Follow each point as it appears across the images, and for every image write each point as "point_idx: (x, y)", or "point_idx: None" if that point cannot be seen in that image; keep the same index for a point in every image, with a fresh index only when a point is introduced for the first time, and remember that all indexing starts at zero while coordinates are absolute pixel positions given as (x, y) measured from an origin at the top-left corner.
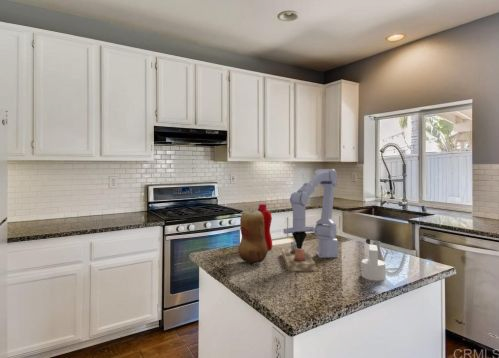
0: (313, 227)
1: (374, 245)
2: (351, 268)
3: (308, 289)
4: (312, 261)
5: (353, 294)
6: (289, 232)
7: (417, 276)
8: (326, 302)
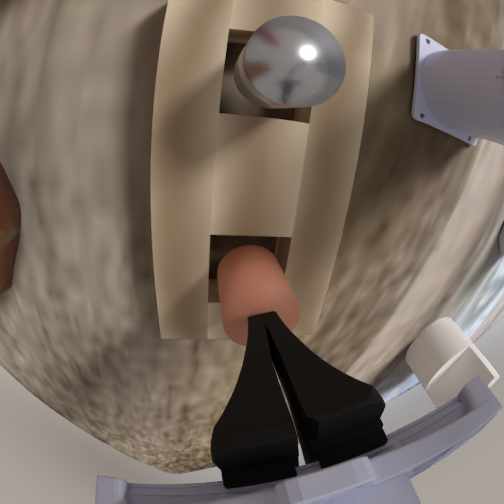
0: (484, 425)
1: (495, 380)
2: (435, 284)
3: None
4: (315, 304)
5: None
6: (170, 495)
7: (485, 327)
8: None
